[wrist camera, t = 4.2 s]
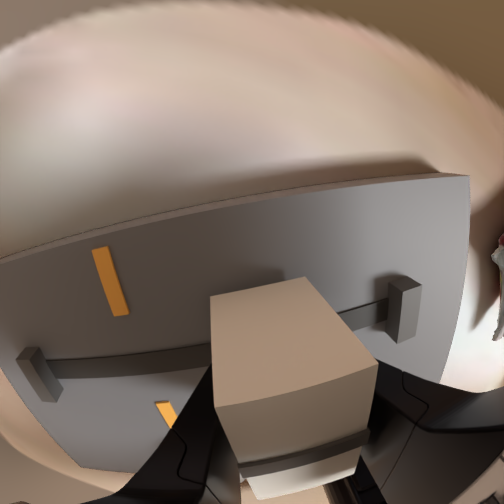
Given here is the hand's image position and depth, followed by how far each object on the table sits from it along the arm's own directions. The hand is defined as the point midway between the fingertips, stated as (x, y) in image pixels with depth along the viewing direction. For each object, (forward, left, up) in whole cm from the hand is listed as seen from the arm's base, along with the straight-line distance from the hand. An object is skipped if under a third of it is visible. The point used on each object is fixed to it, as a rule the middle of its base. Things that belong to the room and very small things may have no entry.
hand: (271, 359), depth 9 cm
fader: (0, 0, 0) cm, 0 cm away
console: (-2, +2, -3) cm, 4 cm away
